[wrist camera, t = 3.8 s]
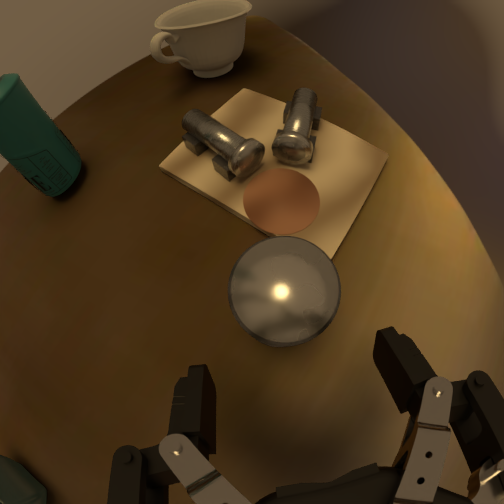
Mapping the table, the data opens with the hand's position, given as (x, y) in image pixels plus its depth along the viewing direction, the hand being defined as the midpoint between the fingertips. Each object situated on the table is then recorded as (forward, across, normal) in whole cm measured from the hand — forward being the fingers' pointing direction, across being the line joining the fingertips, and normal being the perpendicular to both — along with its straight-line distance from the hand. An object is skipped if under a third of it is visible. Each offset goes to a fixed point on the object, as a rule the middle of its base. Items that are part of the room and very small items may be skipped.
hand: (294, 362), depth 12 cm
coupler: (+8, 0, +4) cm, 9 cm away
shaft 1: (+18, +2, -8) cm, 20 cm away
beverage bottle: (+21, +21, -9) cm, 31 cm away
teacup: (+31, +3, -19) cm, 37 cm away
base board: (+18, -3, -6) cm, 19 cm away
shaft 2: (+19, -5, -9) cm, 21 cm away
